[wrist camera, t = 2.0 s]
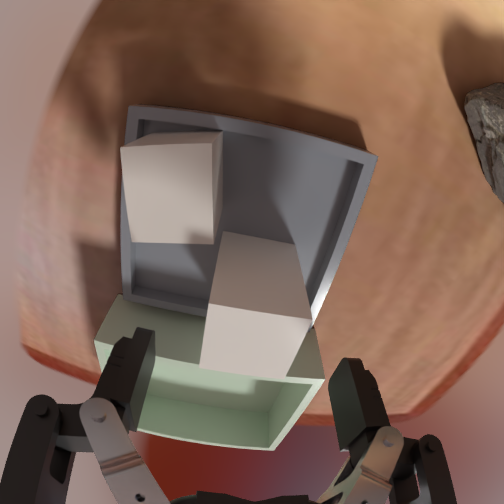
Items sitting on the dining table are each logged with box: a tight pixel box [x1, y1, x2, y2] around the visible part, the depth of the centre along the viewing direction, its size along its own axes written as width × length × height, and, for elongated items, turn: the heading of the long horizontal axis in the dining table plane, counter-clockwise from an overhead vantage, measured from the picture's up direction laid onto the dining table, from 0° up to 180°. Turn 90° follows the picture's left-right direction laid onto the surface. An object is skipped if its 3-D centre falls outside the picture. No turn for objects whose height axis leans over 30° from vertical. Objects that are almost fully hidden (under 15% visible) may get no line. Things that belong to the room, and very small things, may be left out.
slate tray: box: [121, 104, 378, 332], centre depth 16 cm, size 12×12×2 cm
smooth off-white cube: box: [120, 130, 223, 244], centre depth 13 cm, size 4×4×4 cm
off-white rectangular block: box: [199, 231, 313, 379], centre depth 15 cm, size 4×4×6 cm
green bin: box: [94, 294, 325, 451], centre depth 21 cm, size 12×14×4 cm
